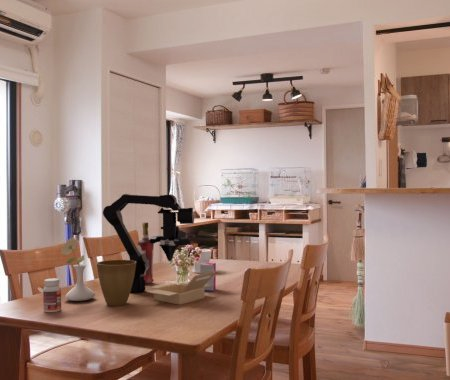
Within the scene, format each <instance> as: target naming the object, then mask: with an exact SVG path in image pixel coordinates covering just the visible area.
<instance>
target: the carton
mask: <svg viewBox="0 0 450 380" xmlns="http://www.w3.org/2000/svg"><path fill="white" fill-rule="evenodd" d="M189 282H190V281H187V282H181V283H173V282H169V281H168V282H164V283H160V284H154V285H152V286H147V287H146V288H147V289H151V290H146V293H150V294H153V295H154V296H153V301H158V302H162V303H168V304H172V305H173V304H175V305H180V306H181V305H186V304H189V303H192V302H195V301H200V300H202V299H203V300H204V299H205V298H206V297H205V291H204V288H203V287H202V288H198V289H194V290H190V291H186V292H182V290H183V289H184V288H185V287H186V285H187V284H188V283H189ZM207 286H211V285H208V284H205V286H204V287H207Z"/></svg>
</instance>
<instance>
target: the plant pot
mask: <svg viewBox="0 0 450 380" xmlns="http://www.w3.org/2000/svg"><path fill="white" fill-rule="evenodd" d="M96 269H97V274H98V281H99V286H100V289H101V292H102V295H103V298H104V301H105V303H106V305H107V306H112V307H116V306H117V307H121V306H124V305H126V304H127V302H128V300H129V298H130V294H131V293H130V291H131V288H132V284H133V280H134V275H135V269H136V261H132V260H130V259H110V260H101V261H97V262H96Z"/></svg>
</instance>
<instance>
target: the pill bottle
mask: <svg viewBox="0 0 450 380" xmlns="http://www.w3.org/2000/svg"><path fill="white" fill-rule="evenodd" d="M42 289H43V290H42V291H43V292H42V293H43V294H42V295H43V312H45V313H57V312H60V311H61V310H62V286H60V278H56V277H55V278H54V277H53V278H46V279H44V287H43V288H42Z"/></svg>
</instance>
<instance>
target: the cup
mask: <svg viewBox="0 0 450 380" xmlns="http://www.w3.org/2000/svg"><path fill="white" fill-rule="evenodd" d="M201 249H202V253H201V258H200V260H199V263H197V262H195V264H194V266H193V267H192V268H191V272H192V273H194V274H200V264H202V263H210V260H211V259H212V249H208V248H201Z"/></svg>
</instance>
